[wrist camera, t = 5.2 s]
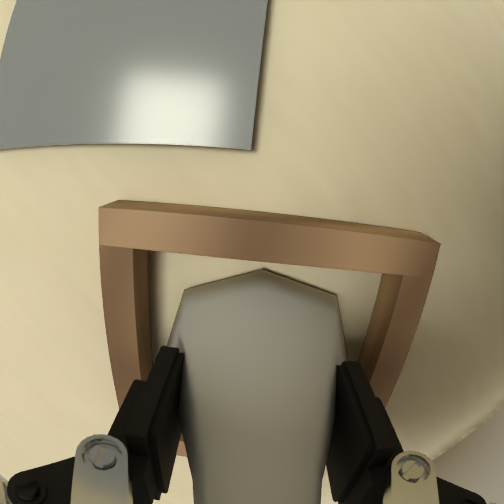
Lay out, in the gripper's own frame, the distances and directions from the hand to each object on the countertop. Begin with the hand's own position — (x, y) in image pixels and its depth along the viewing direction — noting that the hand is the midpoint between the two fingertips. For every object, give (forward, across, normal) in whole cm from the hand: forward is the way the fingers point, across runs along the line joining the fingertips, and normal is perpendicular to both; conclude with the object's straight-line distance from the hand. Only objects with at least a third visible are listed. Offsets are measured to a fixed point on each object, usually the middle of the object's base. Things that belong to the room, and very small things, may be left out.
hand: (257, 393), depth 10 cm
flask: (+3, 0, 0) cm, 3 cm away
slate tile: (+3, +6, -13) cm, 15 cm away
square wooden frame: (+3, 0, 0) cm, 3 cm away
